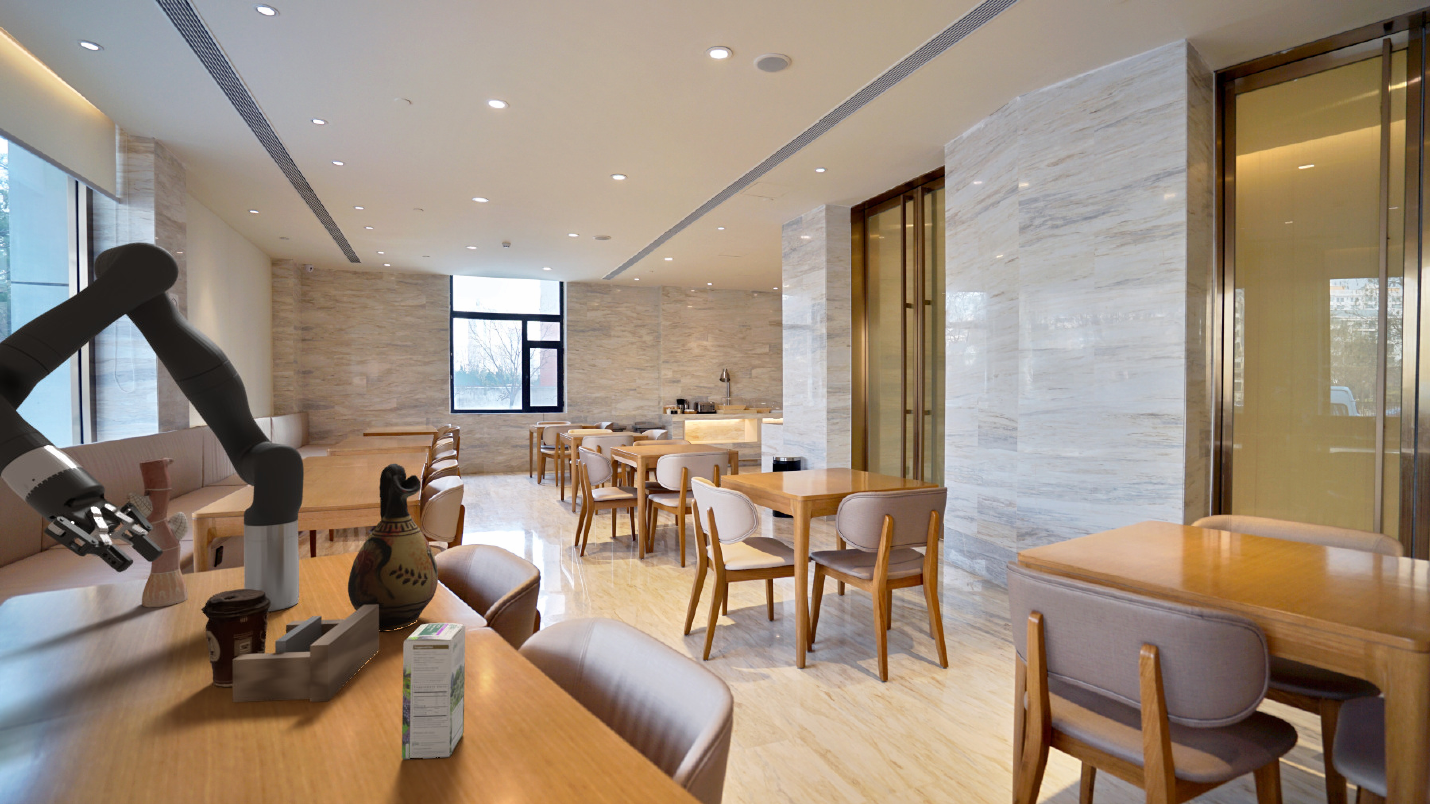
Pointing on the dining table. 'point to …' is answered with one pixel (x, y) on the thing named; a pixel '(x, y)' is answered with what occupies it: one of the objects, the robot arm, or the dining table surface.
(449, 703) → the syrup box
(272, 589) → the robot arm
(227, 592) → the coffee cup
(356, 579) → the ceramic jug
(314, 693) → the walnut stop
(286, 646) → the pad
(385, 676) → the dining table surface
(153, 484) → the vase
